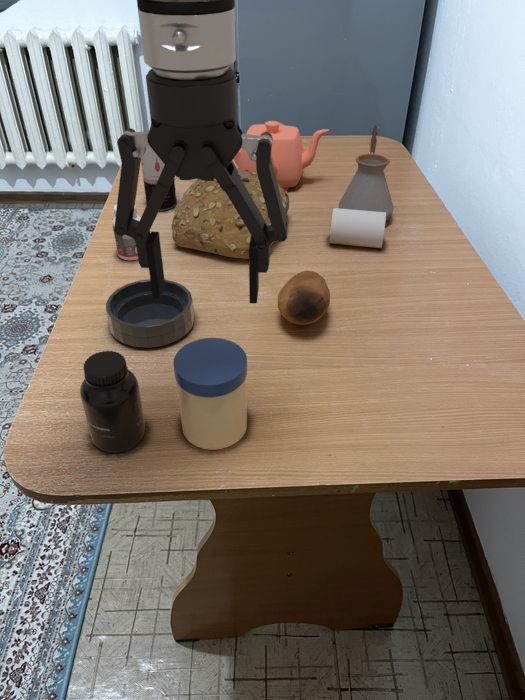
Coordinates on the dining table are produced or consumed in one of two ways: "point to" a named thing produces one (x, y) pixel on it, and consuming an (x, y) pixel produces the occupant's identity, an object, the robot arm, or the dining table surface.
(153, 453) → the dining table surface
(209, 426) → the jar
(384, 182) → the coffee pot
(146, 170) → the beverage can
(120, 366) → the supplement bottle
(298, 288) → the potato
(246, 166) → the teapot
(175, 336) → the bowl
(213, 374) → the jar lid
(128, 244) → the pill bottle
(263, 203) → the bread
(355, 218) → the cup
